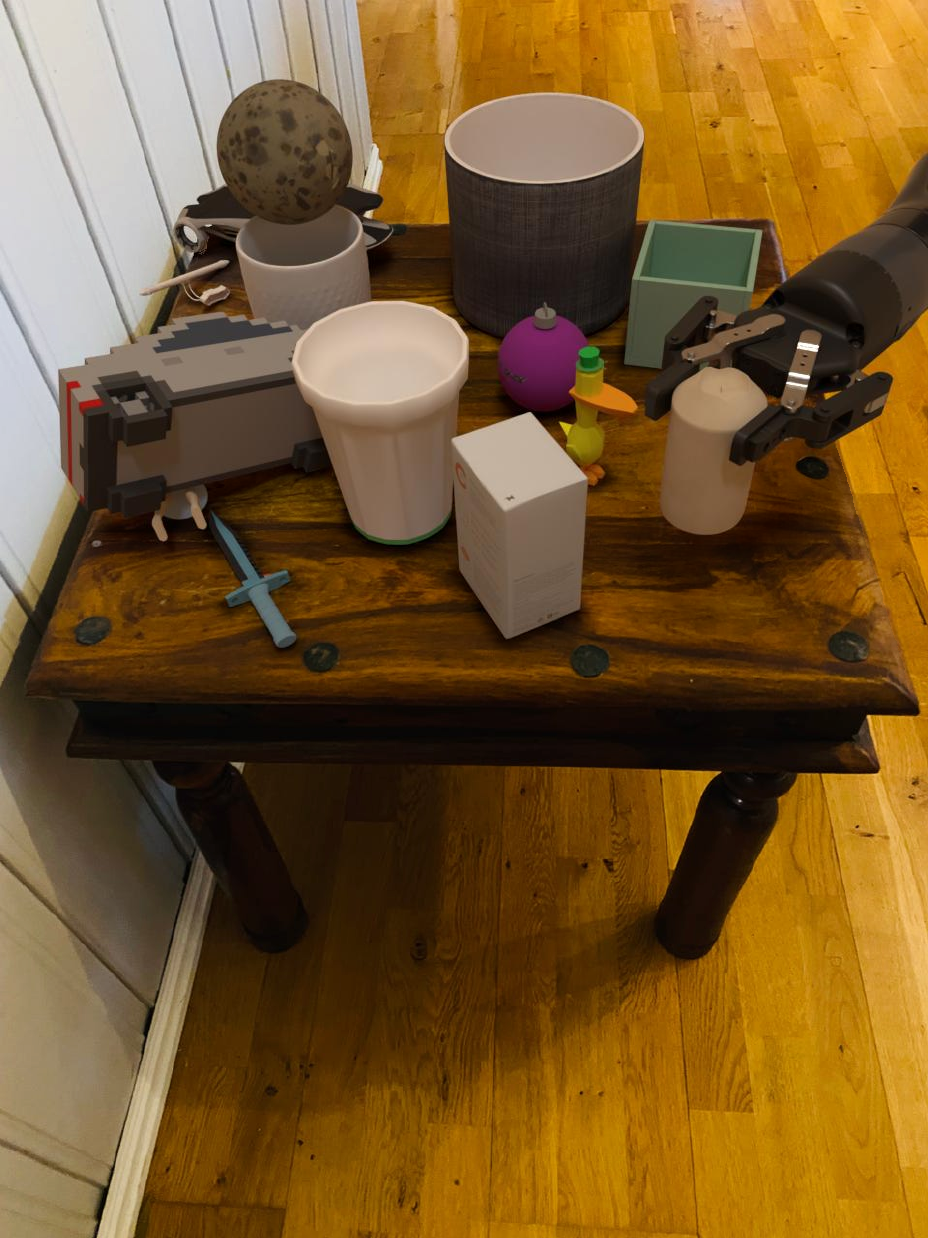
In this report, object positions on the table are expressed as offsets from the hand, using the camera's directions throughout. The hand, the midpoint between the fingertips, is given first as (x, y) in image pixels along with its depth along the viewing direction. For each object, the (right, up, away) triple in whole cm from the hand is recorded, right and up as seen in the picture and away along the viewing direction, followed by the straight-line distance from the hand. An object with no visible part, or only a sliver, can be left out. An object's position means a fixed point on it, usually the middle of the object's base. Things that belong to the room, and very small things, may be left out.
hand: (692, 428), depth 58 cm
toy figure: (-3, +1, +25) cm, 25 cm away
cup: (-18, -2, +23) cm, 30 cm away
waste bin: (+8, +16, +36) cm, 40 cm away
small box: (-9, -9, +17) cm, 21 cm away
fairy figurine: (-35, -4, +18) cm, 40 cm away
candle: (+2, -4, +7) cm, 9 cm away
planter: (-6, +22, +43) cm, 48 cm away
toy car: (-30, +2, +18) cm, 35 cm away
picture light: (-40, +23, +43) cm, 63 cm away
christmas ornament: (-6, +8, +31) cm, 33 cm away
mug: (-26, +14, +37) cm, 48 cm away
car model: (-33, +33, +46) cm, 65 cm away
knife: (-33, -8, +18) cm, 38 cm away
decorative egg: (-25, +24, +18) cm, 39 cm away
